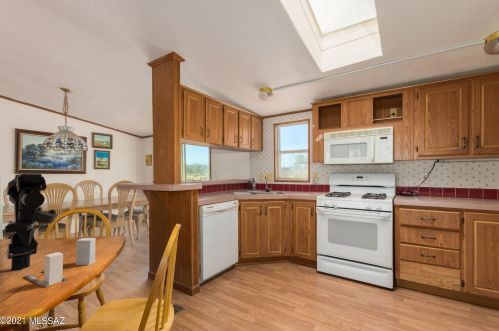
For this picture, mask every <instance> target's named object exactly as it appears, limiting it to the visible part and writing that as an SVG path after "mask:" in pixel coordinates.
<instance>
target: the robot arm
mask: <svg viewBox="0 0 499 331" xmlns="http://www.w3.org/2000/svg"><path fill="white" fill-rule="evenodd" d="M46 182H47V181H46V179H45V177H44V175H42V174H41V173H18V174H15V175H14V178H13V179H12V180H10V181H9V182H7V188H6V196H8V201H10V203H11V204H12V205H13V208H14V210H13V211H14V212H13V213H14V216H13V218H14V222H10V223H8V224H7V225H5V226H4V233H14V234H13V236H12V237H11V240H10V242H9V243H8V244H7V249H6V259H7V260H10V259H11V263H10V264H11V265H10V269H11V272H16V271H17V272H18V271H21V270H24V269H28V268H30V267H31V255H36V254H37V251H38V245H39V242H37V239H35V231H36V230H37V229H39V228H41V226H42V225H41V224H39V225H38V223H43V224H48V225H49V224H52V223H54V222H55V220H56V218H57V217H58V213H57V211H56V210H55V209H50V210H48V211H47V210H46V211H45V210H43V208H42V205H43V204H44V203H45V199H46V198H45V195H43V193H42V192H44V191H46V189H47V183H46Z"/></svg>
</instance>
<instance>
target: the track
mask: <svg viewBox="0 0 499 331" xmlns="http://www.w3.org/2000/svg"><path fill="white" fill-rule="evenodd" d="M42 272H43V273H44V268H43V269H42ZM24 278H25V279H27V280H29V281H32V282H33V283H36V284H37V285H40V286H41V287H44V288H45V289H46V288H48V287H49V286H50V285H49V284H48V283H46V282H44V280H41V279H39V278H37V277H35V276H33V275H30V274H29V273H26V274H24ZM67 281H68V277H65V276H63V275H62V282H67Z"/></svg>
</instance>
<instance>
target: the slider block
mask: <svg viewBox="0 0 499 331" xmlns="http://www.w3.org/2000/svg"><path fill="white" fill-rule="evenodd" d="M63 265H64V253H62V252H58V251H57V252H54V253H50V254H49V253H48V254H45V255H44V266H43V267H44V268H43V269H44V272H43V281H44V282H46V283H48V284H49V286H52V285H54V284H57V283H60V282H63V280H62V276H63V271H64V270H63V267H64V266H63Z"/></svg>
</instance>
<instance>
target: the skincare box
mask: <svg viewBox="0 0 499 331" xmlns="http://www.w3.org/2000/svg"><path fill="white" fill-rule="evenodd" d="M96 241H97V240H96V237H82V238H79V239H77V240H76V247H75V248H76V250H75V251H76V252H75V253H76V254H75V255H76V256H75V266H90V265H92V264H94V263H95V262H96Z"/></svg>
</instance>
